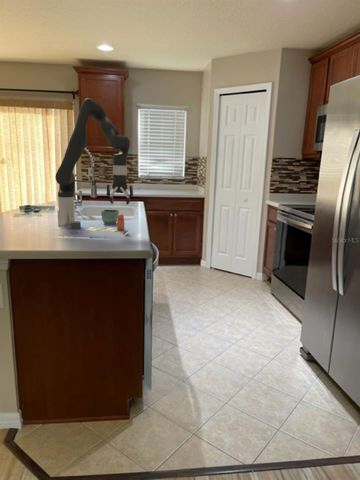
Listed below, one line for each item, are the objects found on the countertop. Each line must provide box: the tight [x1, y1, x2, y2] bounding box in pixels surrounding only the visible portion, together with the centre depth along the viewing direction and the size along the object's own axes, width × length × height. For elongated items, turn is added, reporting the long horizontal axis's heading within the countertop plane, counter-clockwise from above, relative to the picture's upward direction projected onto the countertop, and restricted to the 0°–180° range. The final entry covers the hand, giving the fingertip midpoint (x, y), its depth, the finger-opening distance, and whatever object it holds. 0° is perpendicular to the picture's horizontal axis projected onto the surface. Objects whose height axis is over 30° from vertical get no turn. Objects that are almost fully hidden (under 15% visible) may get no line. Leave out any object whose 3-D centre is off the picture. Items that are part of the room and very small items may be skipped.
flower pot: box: [100, 209, 120, 225], centre depth 216 cm, size 9×9×9 cm
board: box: [86, 226, 129, 235], centre depth 198 cm, size 22×10×1 cm, turn 84°
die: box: [70, 220, 82, 230], centre depth 199 cm, size 5×5×5 cm
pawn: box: [116, 213, 125, 232], centre depth 196 cm, size 4×4×9 cm
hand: (119, 204), depth 193 cm, fingers open, 8 cm apart
